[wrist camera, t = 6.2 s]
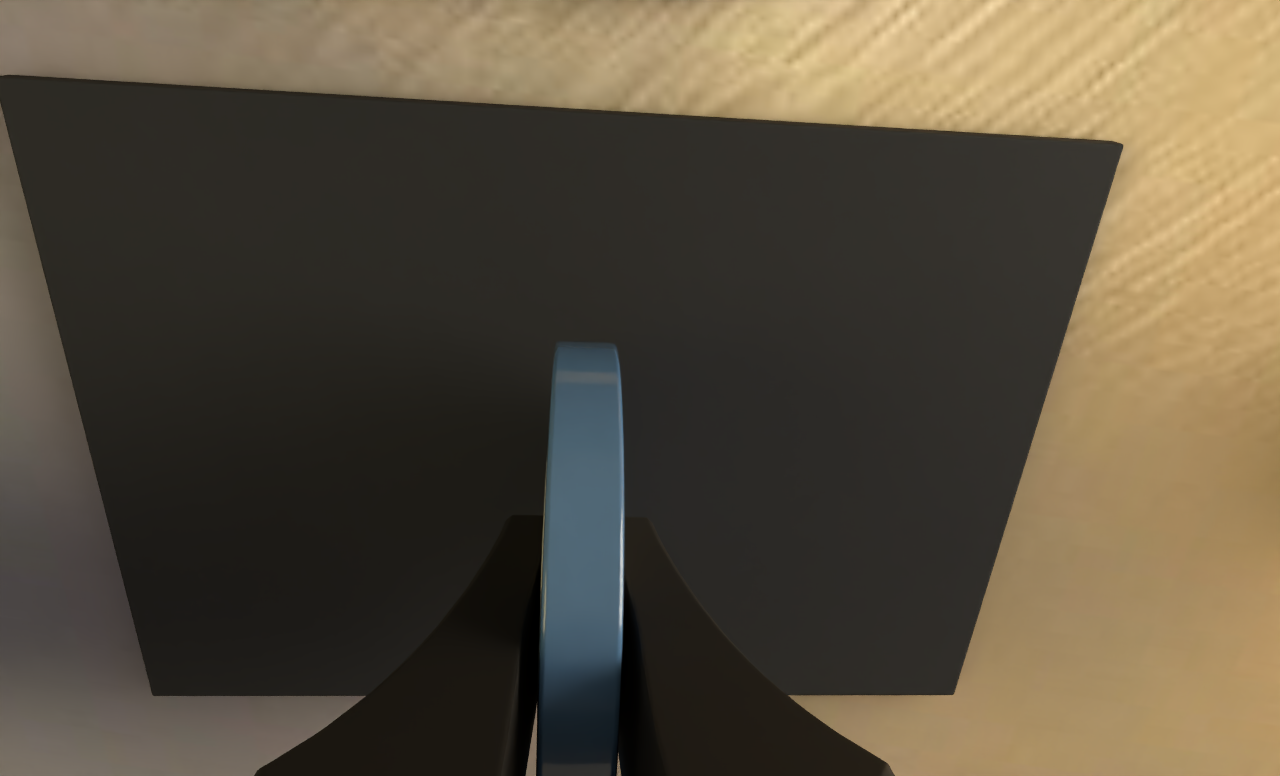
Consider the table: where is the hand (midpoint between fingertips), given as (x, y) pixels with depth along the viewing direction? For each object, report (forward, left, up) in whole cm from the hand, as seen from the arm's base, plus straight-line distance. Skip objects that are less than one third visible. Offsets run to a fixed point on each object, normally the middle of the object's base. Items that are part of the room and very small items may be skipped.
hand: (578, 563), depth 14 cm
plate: (0, 0, 0) cm, 0 cm away
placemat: (0, 0, -4) cm, 4 cm away
